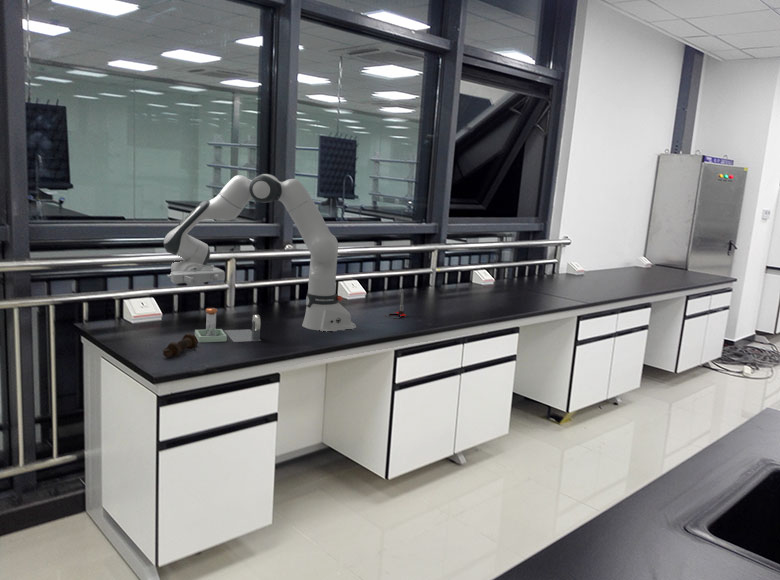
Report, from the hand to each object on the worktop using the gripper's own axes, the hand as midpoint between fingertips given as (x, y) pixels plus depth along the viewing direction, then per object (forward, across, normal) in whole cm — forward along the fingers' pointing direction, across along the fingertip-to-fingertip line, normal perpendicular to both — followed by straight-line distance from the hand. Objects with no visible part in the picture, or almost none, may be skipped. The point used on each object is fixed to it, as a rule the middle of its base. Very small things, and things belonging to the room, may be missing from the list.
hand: (204, 279), depth 235 cm
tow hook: (+3, +89, +23) cm, 92 cm away
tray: (+14, -3, +20) cm, 25 cm away
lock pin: (+14, -3, +19) cm, 24 cm away
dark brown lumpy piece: (+24, -18, +20) cm, 36 cm away
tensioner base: (+14, +9, +20) cm, 26 cm away
